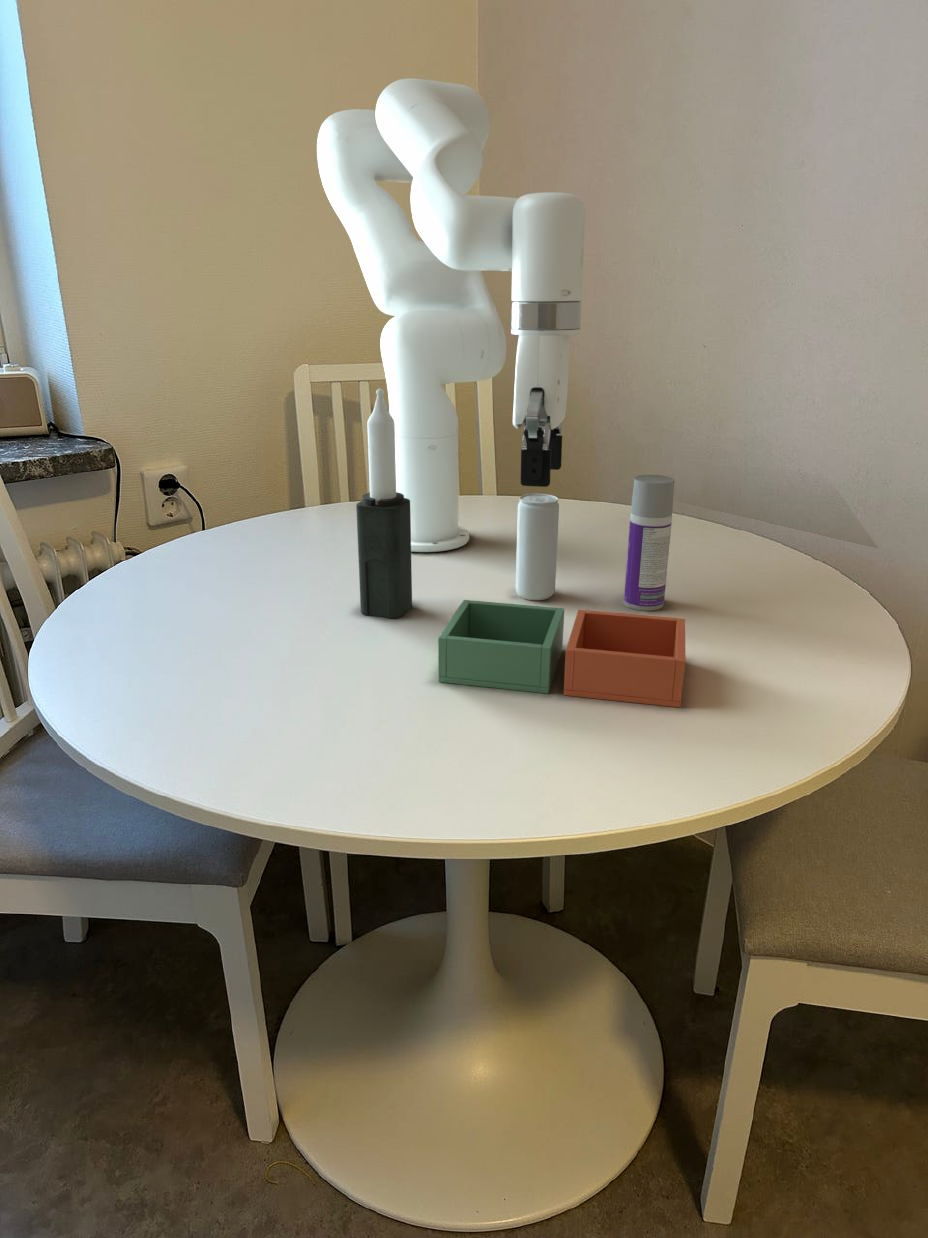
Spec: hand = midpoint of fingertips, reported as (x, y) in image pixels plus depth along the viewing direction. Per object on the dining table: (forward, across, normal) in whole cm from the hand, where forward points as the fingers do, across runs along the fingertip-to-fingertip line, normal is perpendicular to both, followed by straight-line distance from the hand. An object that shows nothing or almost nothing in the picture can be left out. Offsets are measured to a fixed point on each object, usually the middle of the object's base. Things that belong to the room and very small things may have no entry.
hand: (541, 476), depth 101 cm
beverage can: (+15, 0, 0) cm, 15 cm away
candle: (+15, +8, -16) cm, 24 cm away
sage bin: (+15, +20, 0) cm, 25 cm away
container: (+15, 0, +12) cm, 19 cm away
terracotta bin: (+15, +20, +12) cm, 28 cm away
